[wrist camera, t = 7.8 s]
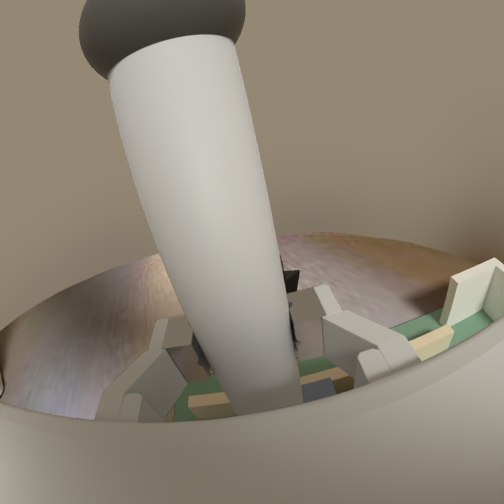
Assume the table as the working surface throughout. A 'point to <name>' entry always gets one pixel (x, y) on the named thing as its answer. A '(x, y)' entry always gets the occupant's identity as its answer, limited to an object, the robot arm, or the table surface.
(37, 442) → the robot arm
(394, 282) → the table surface
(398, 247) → the table surface
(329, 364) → the pitch
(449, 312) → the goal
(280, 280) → the lever
